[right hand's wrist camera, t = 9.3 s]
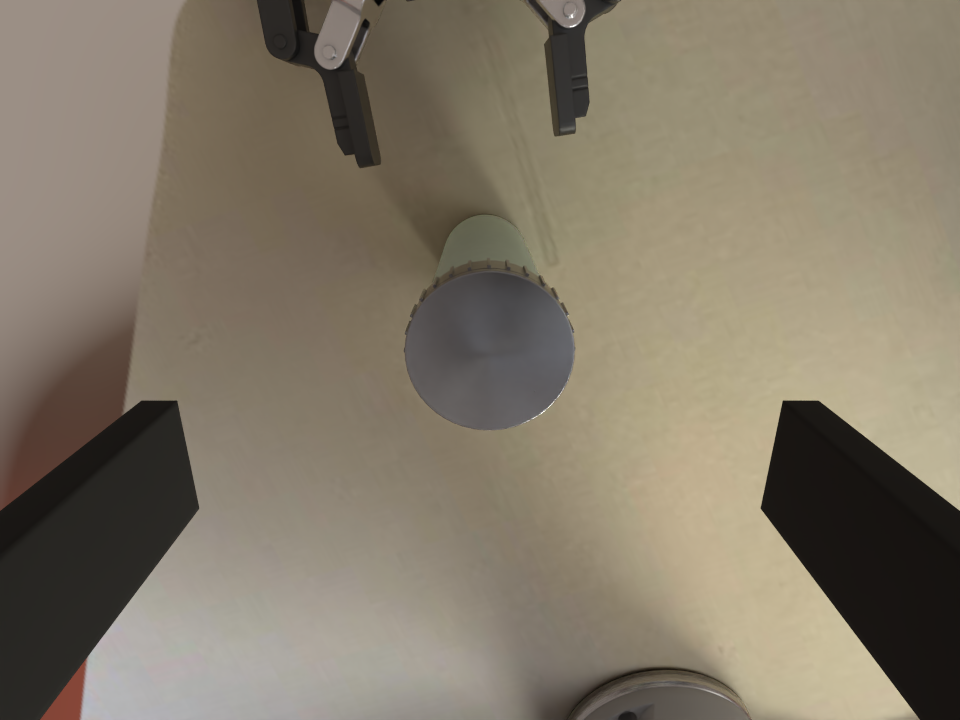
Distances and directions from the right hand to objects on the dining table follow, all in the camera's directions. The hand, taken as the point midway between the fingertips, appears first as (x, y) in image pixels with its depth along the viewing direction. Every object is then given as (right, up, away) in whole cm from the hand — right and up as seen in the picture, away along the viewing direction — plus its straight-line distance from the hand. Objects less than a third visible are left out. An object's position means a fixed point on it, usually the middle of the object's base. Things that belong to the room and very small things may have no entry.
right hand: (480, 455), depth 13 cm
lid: (0, +2, +6) cm, 6 cm away
